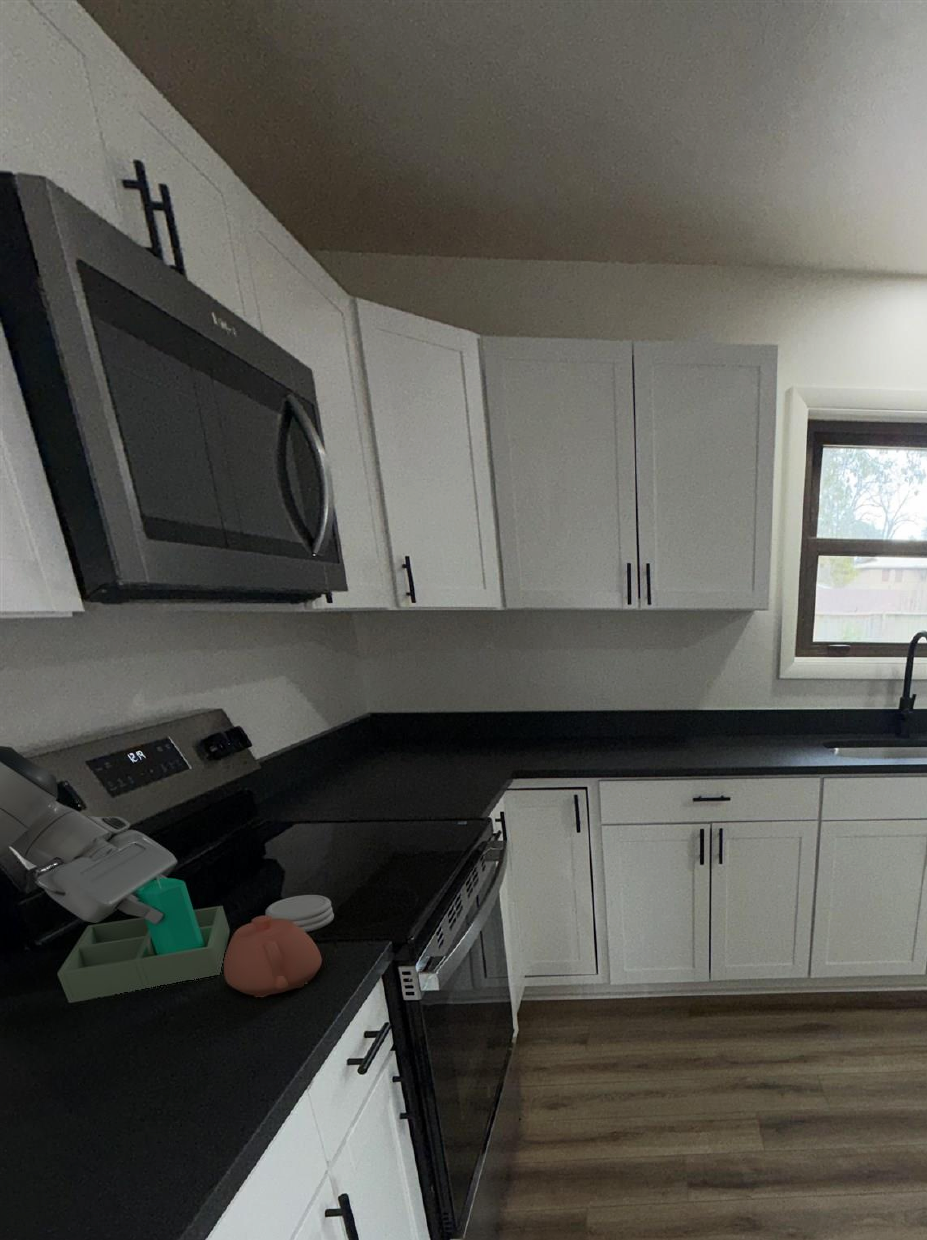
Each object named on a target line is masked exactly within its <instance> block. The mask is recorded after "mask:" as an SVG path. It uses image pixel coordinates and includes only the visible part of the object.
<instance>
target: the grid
mask: <svg viewBox="0 0 927 1240" xmlns="http://www.w3.org/2000/svg"><path fill="white" fill-rule="evenodd" d="M193 910H194V913H195V916H196V920H197V923H198V926H199V929H200V932H201V936H202V939H203V942H204V945H205V947H204V948H198V949H192V950H186V951H180V952H174V953H168V954H162V955H157V953H156V950H155V947H154V944H153V941H152V938H151V935H150V932H149V930H148V927H147V924H146V921H145V918H144V917H143V918H142V917H137V918H129V919H123V920H117V921H116V920H115V921H109V922H104V923H103V922H102V923H95V924H90V925H87V926H86V928H85V930H84V931H83V933H82V934H81V936H80V938H79V939H78V941H77V942H76V943H75V945H74V946H73V948H72V950H71V952H70V953H69V955H68V956H67V958H66V959H65V961H64V963H63V964H62V965H61V967H60V968H59V970H58V972H57V973H56V974H57V977H58V979H59V982H60V983H61V986H62V989H63V992H64V994H65V996H66V999H67V1001H68V1003H69V1004H72V1003H77V1002H83V1001H88V1000H94V998H95V999H99V998H98V997H100V998H105V996H106V997H110V996H116V995H115V994H117V995H121V994H120V993H122V994H125V993H124V992H128V993H133V992H136V991H135V990H139V991H142V990H141V989H145V988H150V989H154V988H153V987H155V986H156V988H158V987H157V986H160V985H164V984H165V985H167V984H172V983H176V982H180V981H181V982H182V981H186V980H194V979H195V980H194V981H197V980H196V979H198V978H199V979H200V978H204V977H209V976H214V975H220V972H221V973H222V971H221V967H222V968H223V966H222V963H223V964H224V961H223V958H224V959H225V957H224V953H225V954H226V952H225V950H226V951H227V948H228V942H229V937H230V932H231V931H230V926H229V923H228V920H227V916H226V912H225V910H224V906H223V905H217V906H212V907H211V906H210V907H204V908H198V909H193ZM200 980H201V979H200ZM172 985H173V984H172ZM167 986H168V985H167ZM151 987H152V988H151ZM145 990H146V989H145ZM132 991H133V992H132Z"/></svg>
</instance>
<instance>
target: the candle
mask: <svg viewBox="0 0 927 1240" xmlns="http://www.w3.org/2000/svg"><path fill="white" fill-rule="evenodd" d="M156 877H157V880H153V881H150V882H149V883H147V884H146V885H144V886H143V887H141V888H140V889H138V890H137V891H135V892H136V894H137V898H138V899H139V902H141V903H144V904H147V905H150V906H152V907H153V906H154V907H156V908H157V909H159V910H161V911H162V912H164V914H165V916H164V917H163V918H162V920H161V921H160V922H158V923H157V924H154V923H152V922H150V921H149V920H147V919H145V921H146V924H147V927H148V930H149V932H150V935H151V938H152V941H153V944H154V947H155V950H156V953H157V955H162V954H168V953H174V952H180V951H186V950H192V949H198V948H204V947H205V945H204V942H203V939H202V936H201V932H200V929H199V926H198V923H197V920H196V916H195V913H194V910H195V909H194V907H193V904H192V901H191V898H190V894H189V891H188V888H187V884H186V882H185V881H184V880H183V879H182V880H181V879H177V878H172V877H167V878H160V879H158V876H157V875H156Z"/></svg>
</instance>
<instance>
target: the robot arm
mask: <svg viewBox="0 0 927 1240" xmlns="http://www.w3.org/2000/svg"><path fill="white" fill-rule="evenodd" d="M58 799H59V789H58V781H57V777H56V776H55V775H54V774H53V773H51V772H50V771H49V770H46V769H44V768H43V767H41V766H40V765H38V764H37V763H34V762H33V761H31V760H30V759H28V758H26V757H25V756H24V755H22V754H20V753H19V752H17V751H16V749H14V748H13V747H11V746H5V745H0V856H1V855H2V853H4V852H6V850H8V848H11V849H13V850H14V851H15V852H16V853H17V854H18V855H19V856H20V857H21V858H22V859H24V860H25V861H27V862H29V863H30V864H31V865H33V866H35V867H36V868H34V870H33V871H32V874H33V879H34V883H35V884H36V885H37V886H38V887H40V888H42V889H44V891H45V893H46V894H47V895H48V896H49V897H50V898H51V899H52V900H54V901H55V902H56V903H58V904H59V905H60V906H61V907H63V908H64V909H66V910H67V911H69V912H70V913H71V914H73V915H75V916H76V917H77V918H79V919H81V920H82V921H84V922H89V923H93V924H99V923H100V922H102V921H103V920H105V919H106V918H108V917H109V916H111V915H112V914H113V913H115V912H116V911H118V910H119V911H121V912H122V913H125V915H130V916H134V917H137V918H143V917H144V918H145V919H147V920H149V921H150V922H152V923H154V924H157V923H158V922H160V921H161V920H162V918H163V917H164V916H165V914H164V912H162V911H161V910H159V909H157V908H156V907H154V906H153V907H152V906H150V905H147V904H144V903H141V902H139V899H138V897H137V894H136V892H135V891H137V890H138V889H140V888H141V887H143V886H144V885H146V884H147V883H149V882H150V881H153V880H157V877H156V875H157V876H158V879H160V878H168V876H169V874H170V873H171V872H172V871H173V870H174V868H175V867H176V866H177V864H178V859H177V858H176V857H175V855H174V854H173V853H172V852H170V851H169V850H168V849H167V848H165V847H164V846H162V845H161V844H159V843H158V842H157V841H155V840H153V839H152V838H150V837H149V836H148V835H145V833H143V832H140V831H138V830H135V829H130V827H131V823H130V822H129V821H127V820H126V819H125V818H123V817H120V816H95V815H87V816H85V814H83V813H81V812H80V811H78V810H76V809H74V808H72V807H70V806H67V805H64V804H62V803H60V802H58V801H57V800H58Z"/></svg>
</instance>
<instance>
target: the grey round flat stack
mask: <svg viewBox="0 0 927 1240" xmlns="http://www.w3.org/2000/svg"><path fill="white" fill-rule="evenodd" d="M265 916H271V917H272V919H273V918H282V919H287V920H290V921H292V922H293V923H295V924H296V925H297V926H299V927H300V928H301V929H302V930H303V931H304V932H305V933H310V932H313V931H316V930H317V931H318V930H320V929H322V928H325V927H327V926H328V925H329V924H330V923H332V921H334V919H335V914H334V911H333V907H332V901H331V900H330V898H328V897H326V896H325V895H324V896H323V895H319V894H305V895H304V894H303V895H295V896H291V897H286V898H283V899H280V900H277V901H275V902H273V903H272V904H270V905H269V906H267V908H266V909H265Z"/></svg>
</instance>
